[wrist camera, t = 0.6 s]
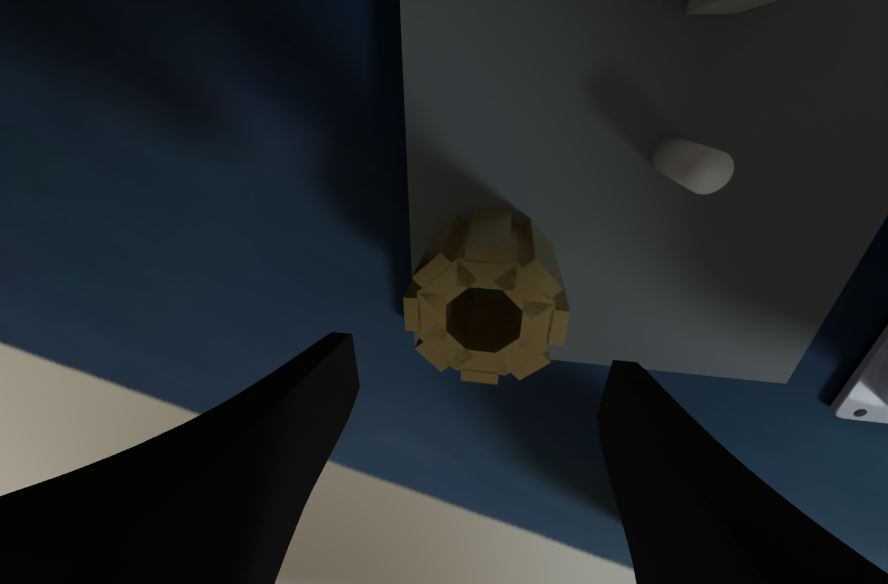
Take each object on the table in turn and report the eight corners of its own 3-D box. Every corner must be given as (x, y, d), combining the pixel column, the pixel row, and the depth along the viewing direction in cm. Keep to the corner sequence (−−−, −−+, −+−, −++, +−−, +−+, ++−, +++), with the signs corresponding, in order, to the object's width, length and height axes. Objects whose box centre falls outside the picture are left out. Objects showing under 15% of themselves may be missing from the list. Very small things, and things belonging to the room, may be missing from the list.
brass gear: (565, 212, 15) (582, 251, 11) (546, 329, 17) (554, 391, 14) (425, 205, 15) (399, 240, 12) (427, 318, 18) (407, 374, 15)
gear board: (1311, -636, 7) (2413, -1630, 3) (766, 362, 18) (836, 438, 14) (395, -452, 9) (307, -856, 5) (421, 328, 20) (399, 386, 16)
